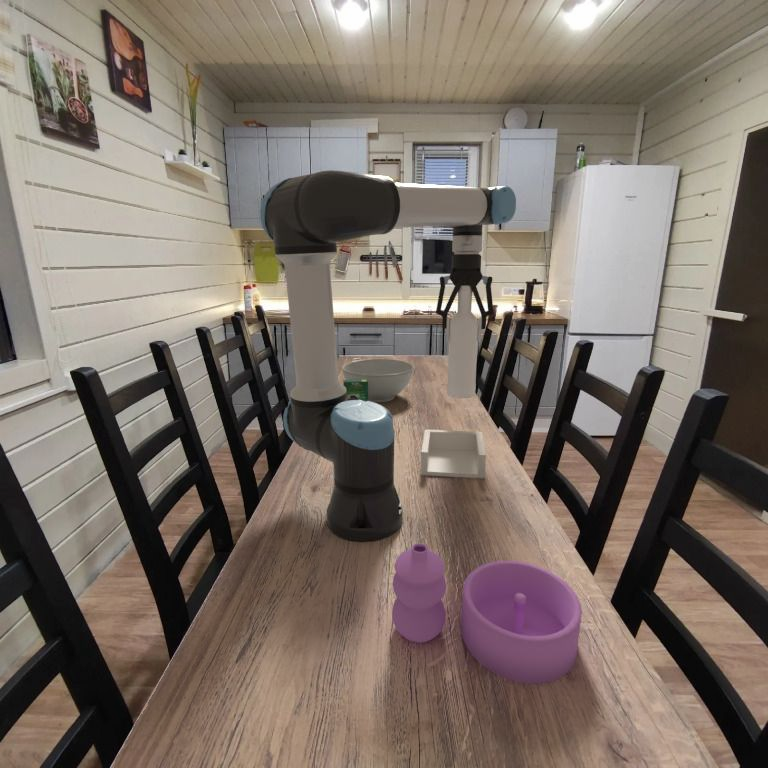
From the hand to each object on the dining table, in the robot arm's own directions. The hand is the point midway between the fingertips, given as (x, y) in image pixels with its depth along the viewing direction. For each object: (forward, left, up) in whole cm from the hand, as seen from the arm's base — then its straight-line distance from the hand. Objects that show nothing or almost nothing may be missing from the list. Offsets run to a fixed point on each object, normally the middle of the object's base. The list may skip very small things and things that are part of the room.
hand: (463, 340), depth 124 cm
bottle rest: (-14, -9, -29) cm, 33 cm away
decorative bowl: (+10, +47, -29) cm, 56 cm away
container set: (-53, -47, -29) cm, 77 cm away
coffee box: (-11, +34, -29) cm, 46 cm away
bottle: (0, 0, -15) cm, 15 cm away
